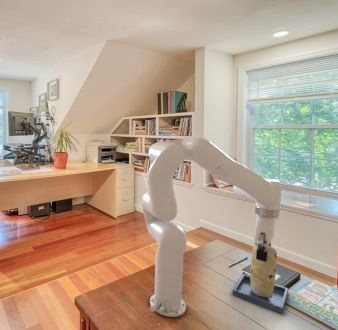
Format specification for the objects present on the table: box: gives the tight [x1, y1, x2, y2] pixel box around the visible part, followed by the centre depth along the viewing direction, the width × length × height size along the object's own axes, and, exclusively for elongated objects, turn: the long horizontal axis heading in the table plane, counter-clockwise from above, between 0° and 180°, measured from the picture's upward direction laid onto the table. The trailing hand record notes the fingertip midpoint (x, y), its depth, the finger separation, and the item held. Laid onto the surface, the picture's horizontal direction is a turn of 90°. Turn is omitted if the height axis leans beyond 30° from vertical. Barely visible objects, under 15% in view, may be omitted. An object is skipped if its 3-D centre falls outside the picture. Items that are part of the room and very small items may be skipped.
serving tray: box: [232, 273, 289, 315], centre depth 100 cm, size 16×16×2 cm
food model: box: [249, 241, 278, 298], centre depth 98 cm, size 10×7×20 cm
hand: (263, 256), depth 98 cm, fingers closed on food model, 7 cm apart
